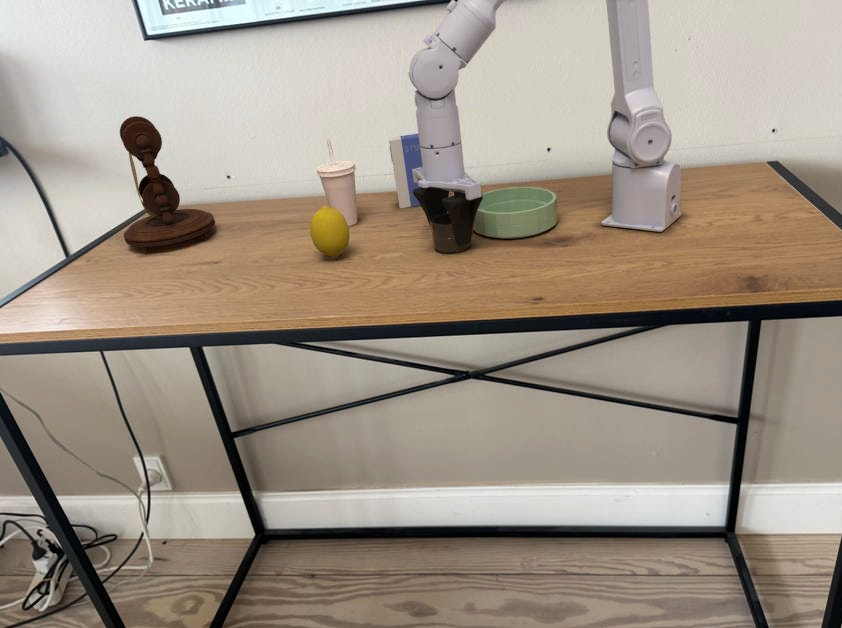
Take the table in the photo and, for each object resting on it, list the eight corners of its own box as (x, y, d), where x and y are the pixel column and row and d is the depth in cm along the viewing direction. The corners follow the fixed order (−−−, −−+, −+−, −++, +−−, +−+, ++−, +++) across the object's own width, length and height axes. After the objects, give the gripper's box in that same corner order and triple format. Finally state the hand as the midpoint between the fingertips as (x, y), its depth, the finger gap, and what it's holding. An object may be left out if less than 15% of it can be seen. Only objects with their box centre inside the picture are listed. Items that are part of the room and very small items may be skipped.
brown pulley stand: (125, 238, 123) (83, 121, 113) (210, 219, 128) (177, 105, 118) (131, 262, 111) (85, 134, 101) (224, 240, 116) (189, 116, 106)
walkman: (441, 197, 125) (433, 129, 119) (443, 202, 123) (435, 132, 117) (398, 204, 124) (387, 135, 118) (399, 208, 122) (388, 138, 116)
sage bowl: (572, 217, 109) (571, 190, 107) (529, 245, 100) (528, 217, 98) (501, 209, 116) (500, 184, 114) (456, 235, 107) (453, 208, 105)
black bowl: (479, 242, 103) (476, 214, 101) (457, 256, 99) (453, 227, 97) (449, 238, 106) (445, 210, 104) (426, 251, 102) (422, 222, 100)
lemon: (360, 251, 105) (350, 199, 101) (342, 266, 100) (332, 212, 96) (328, 250, 107) (317, 199, 103) (309, 264, 102) (297, 212, 98)
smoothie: (320, 228, 116) (302, 143, 110) (340, 216, 121) (324, 134, 115) (353, 230, 114) (337, 143, 107) (372, 217, 119) (357, 133, 112)
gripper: (389, 143, 99) (403, 234, 105) (445, 157, 88) (457, 258, 95) (431, 133, 102) (441, 222, 108) (490, 145, 91) (498, 243, 98)
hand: (451, 238), depth 102 cm, fingers closed on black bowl, 6 cm apart
